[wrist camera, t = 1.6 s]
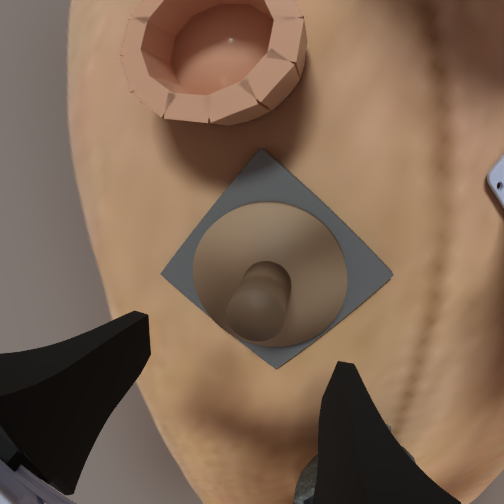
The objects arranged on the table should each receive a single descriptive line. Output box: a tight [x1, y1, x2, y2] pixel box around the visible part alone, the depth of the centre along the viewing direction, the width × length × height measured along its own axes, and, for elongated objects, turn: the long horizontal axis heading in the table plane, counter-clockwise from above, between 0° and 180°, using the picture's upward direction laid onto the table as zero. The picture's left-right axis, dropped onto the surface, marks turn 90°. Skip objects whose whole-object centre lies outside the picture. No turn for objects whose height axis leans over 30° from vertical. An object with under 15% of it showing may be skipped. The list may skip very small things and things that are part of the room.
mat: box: [161, 148, 393, 369], centre depth 18 cm, size 10×10×1 cm
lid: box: [193, 201, 348, 347], centre depth 15 cm, size 9×9×4 cm
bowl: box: [120, 0, 307, 126], centre depth 12 cm, size 8×8×4 cm
